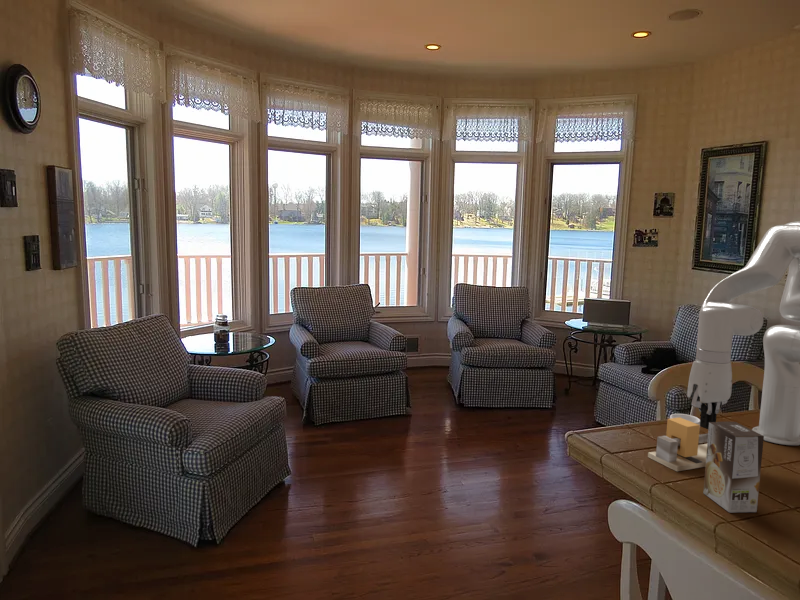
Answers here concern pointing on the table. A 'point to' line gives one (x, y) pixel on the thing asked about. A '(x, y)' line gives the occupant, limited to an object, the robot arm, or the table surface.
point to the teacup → (686, 418)
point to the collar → (684, 435)
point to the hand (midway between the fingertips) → (707, 427)
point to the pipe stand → (671, 459)
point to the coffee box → (733, 466)
